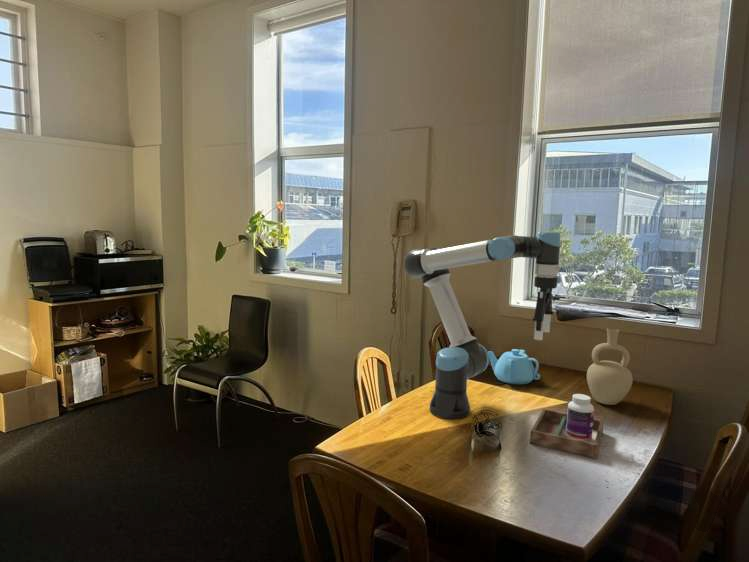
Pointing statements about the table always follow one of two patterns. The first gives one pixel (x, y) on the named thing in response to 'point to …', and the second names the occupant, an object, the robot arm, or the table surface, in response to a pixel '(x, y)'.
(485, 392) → the table surface
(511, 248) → the robot arm
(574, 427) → the pill bottle
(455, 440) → the table surface
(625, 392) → the vase
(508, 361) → the teapot
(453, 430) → the table surface
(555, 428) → the crate
